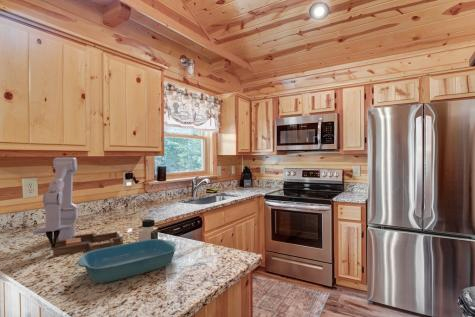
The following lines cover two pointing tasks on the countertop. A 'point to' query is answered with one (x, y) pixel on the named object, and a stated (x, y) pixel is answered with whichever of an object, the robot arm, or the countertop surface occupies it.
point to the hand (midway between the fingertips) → (53, 247)
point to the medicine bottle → (148, 230)
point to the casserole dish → (127, 259)
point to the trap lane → (88, 243)
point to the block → (73, 241)
